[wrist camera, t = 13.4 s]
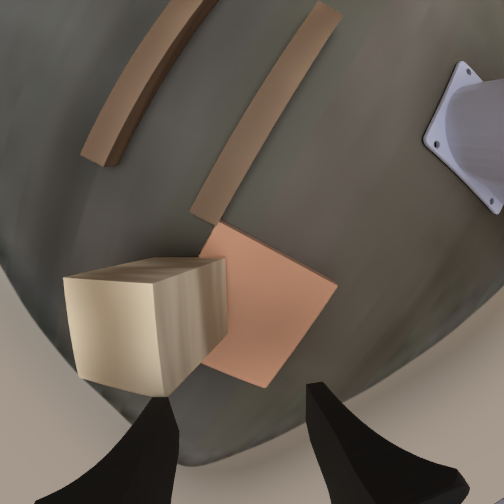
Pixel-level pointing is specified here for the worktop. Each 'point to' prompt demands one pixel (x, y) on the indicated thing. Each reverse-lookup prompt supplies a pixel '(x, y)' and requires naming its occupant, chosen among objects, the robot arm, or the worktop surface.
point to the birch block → (146, 321)
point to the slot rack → (252, 122)
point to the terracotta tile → (262, 304)
